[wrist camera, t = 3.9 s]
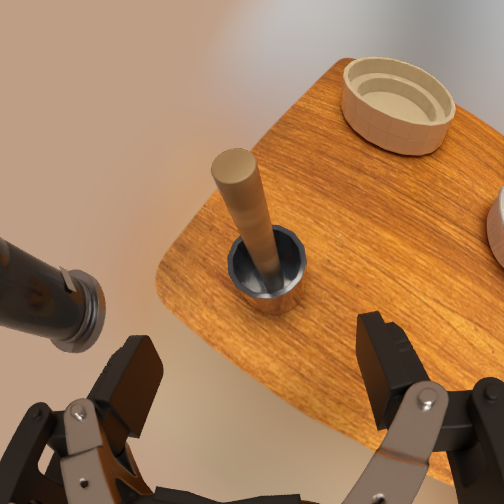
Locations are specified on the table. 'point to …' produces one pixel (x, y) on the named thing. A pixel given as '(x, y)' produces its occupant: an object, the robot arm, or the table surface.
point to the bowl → (396, 105)
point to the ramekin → (497, 227)
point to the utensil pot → (251, 281)
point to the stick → (249, 211)
